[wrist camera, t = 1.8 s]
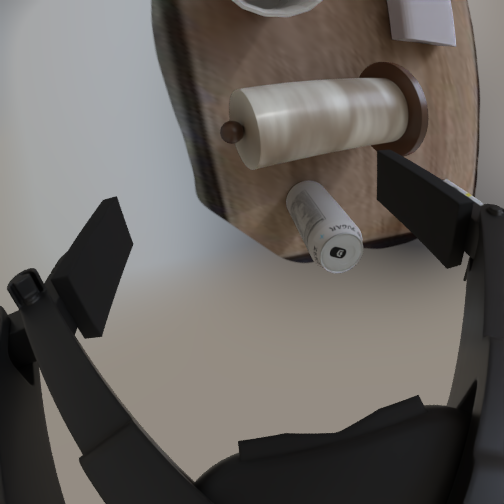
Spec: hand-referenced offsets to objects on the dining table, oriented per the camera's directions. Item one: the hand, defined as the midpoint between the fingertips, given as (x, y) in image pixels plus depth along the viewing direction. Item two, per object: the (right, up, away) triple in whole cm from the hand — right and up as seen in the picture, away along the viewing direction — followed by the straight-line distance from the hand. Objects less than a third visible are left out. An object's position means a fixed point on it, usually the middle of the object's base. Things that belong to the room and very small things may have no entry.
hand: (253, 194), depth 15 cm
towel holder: (+17, +14, +18) cm, 29 cm away
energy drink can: (+7, +5, +30) cm, 31 cm away
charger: (+22, +33, +14) cm, 42 cm away
